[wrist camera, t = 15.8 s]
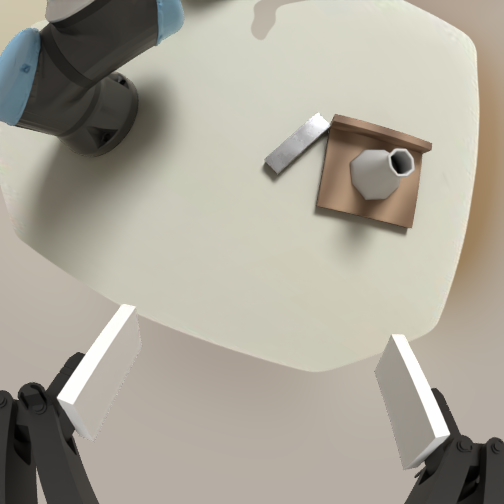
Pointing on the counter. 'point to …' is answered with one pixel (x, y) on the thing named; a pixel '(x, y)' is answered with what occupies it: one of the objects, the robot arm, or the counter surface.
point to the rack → (340, 180)
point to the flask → (380, 172)
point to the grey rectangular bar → (297, 143)
